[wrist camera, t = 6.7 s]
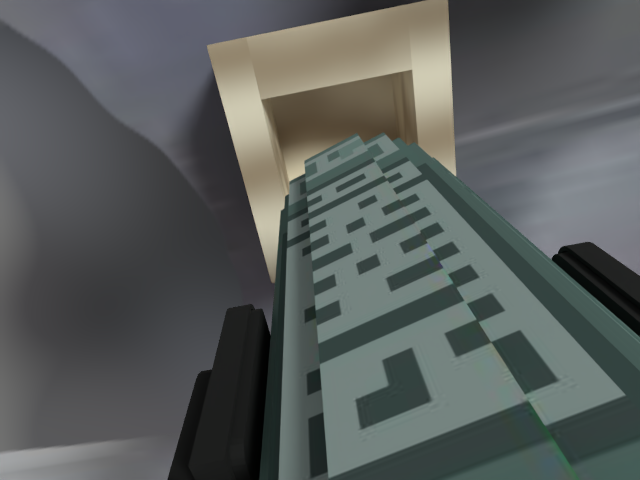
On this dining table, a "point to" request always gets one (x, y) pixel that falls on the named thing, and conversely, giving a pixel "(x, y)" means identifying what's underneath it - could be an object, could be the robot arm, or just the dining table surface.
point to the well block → (333, 96)
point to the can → (434, 337)
